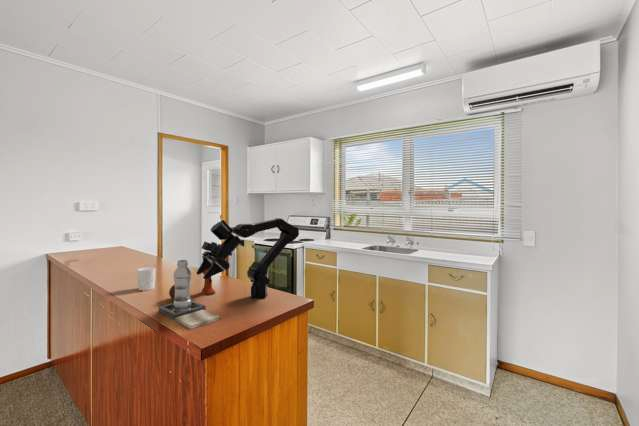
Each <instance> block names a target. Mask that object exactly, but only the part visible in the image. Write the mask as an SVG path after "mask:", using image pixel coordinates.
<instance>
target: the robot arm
mask: <svg viewBox="0 0 639 426" xmlns="http://www.w3.org/2000/svg"><path fill="white" fill-rule="evenodd" d="M275 228H277V229H278V231H280V233H279V234H280V235H279V236H278V237H279V238H278V239H277V241H276V242H275V243H274V244H273V245H272V246H271V248H270V249H269V250H268V251H267V252H266V253H265V255H264V256H263V257H262V259H261V260H260V261H258V262H257V261H253V262H252V263H251V265H250V266H249V267H248V270H247V272H246V274H247V275H246V276H247V278H248V279H249V280H250V282H251V286H250V299H263V300H264V299H266V298H267V297H268V295H269V293H268V285H269V284H270V279H269V277H267V274H268V270H269V267H270V266H271V265H272V264H273V262H274V261H275V260H276V259H277V258H278V257H279V255H280V253H282V251H283V250H284V249H285V247H286V246H287V245H288V244H290V243H292V242H293V241H295V240H296V239H298V236H299V235H300V231H299V228H298V227H297V226H293V225H292V224H290V223H289V222H287V221H286V220H285V219H284V218H278V217H277V218H273V219H269V220H265V221H260V222H257V223H256V222H255V223H238V224H236V225H235V226H234V227H231V226H229V224H227V222H226V221H225V220H224V219H221V220H220V221H218V222H217V223H215V224H213V226H212V227H211V228H210V232H211V233H212V234H213V235H214V236H216V238H217V239H218V240H220V241H223V242H221V244H220V243H219V244H218V243H217V242H214V241H211V242H207V241H204V242H203V243H202V246H201V249H202V250H205V251H204V252H203V253H202V254H201V255H202V256H201V258H202V262H201V263H200V266H199V267H198V269H197V271H196V275H198V276H199V275H201V274H203V273H202V272H204V271H206V270H207V269H209V270H208V271H207V273H206V274H205V275H204V274H203V277H202V278H203V279H204V280H205V279H207V278H209V277H211V278H212V277H213V276H215V275H218V274H220V273H222V272H225V271H228V270H229V269H230V266H231V265H230V262H228V261H227V259H228V258H229V256H230V257H231V256H233V253H234V250H236V249H237V247H239V246H240V247H245V240H244V239H246V238H249V237H253V235H255V234H257V233H259V232H264V231H267V230H272V229H275ZM234 234H235V235H234ZM240 238H243V239H240ZM223 269H224V270H223Z"/></svg>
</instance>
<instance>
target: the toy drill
mask: <svg viewBox="0 0 639 426" xmlns="http://www.w3.org/2000/svg"><path fill="white" fill-rule="evenodd" d="M208 270H209V269H207V270H206V271H204V272H202V273H201V274H203V276H204V275H205V274H206V273H207V271H208ZM223 270H224V269H223ZM224 271H225V270H224ZM201 293H202V294H203V295H205V296H213V295H215V294H216V290H214V288H213V279H212V276H211V277H209V278H207V279H204V285H203V287H202V290H201Z"/></svg>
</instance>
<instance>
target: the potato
mask: <svg viewBox="0 0 639 426" xmlns="http://www.w3.org/2000/svg"><path fill="white" fill-rule="evenodd" d="M168 295H169V297H170V299H172V300H174V298H175V284H173V285H172V286H171V287H170V289H169V290H168Z"/></svg>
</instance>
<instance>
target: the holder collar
mask: <svg viewBox="0 0 639 426" xmlns="http://www.w3.org/2000/svg"><path fill="white" fill-rule="evenodd" d="M200 310H206V305H205V304H203V303H200V302H197V301H194V300H193V299H191V308H190V309H188V310H185V311H181V312H175V311H174V308H173V303H169V304H165V305H162V306H158V313H160V314H162V315H163V316H165V317H167V318H169V319H171V320H172V321H175V318H176V317H179V316H183V315H186V314H190V313H193V312H197V311H200ZM206 311H207V310H206Z"/></svg>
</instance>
